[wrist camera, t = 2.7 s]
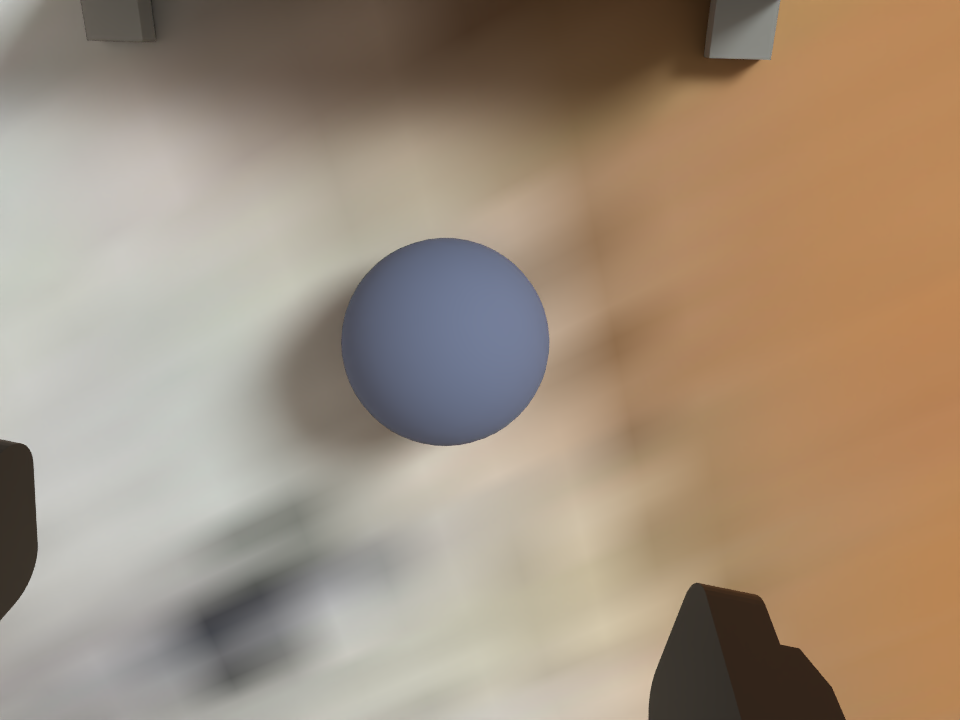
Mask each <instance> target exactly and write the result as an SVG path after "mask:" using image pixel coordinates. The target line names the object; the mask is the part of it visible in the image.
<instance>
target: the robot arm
mask: <svg viewBox="0 0 960 720" xmlns="http://www.w3.org/2000/svg"><path fill="white" fill-rule="evenodd" d="M37 551H38V542H37V523H36V504H35V486H34V467H33V457H32V454H31V452H30V450H29V448H28V447H27V446H26V445H24V444H21V443H16V442H11V441H6V440H1V439H0V620H1V619H2V618H3V617H4V615H5V614H6V613H7V612H8V611H9V610H10V609H11V607H12V606H13V605H14V604H15V603H16V602H17V600H18V599H19V598H20V596H21V595H22V593H23V592H24V590H25V588H26V586H27V585H28V582H29V580H30V578H31V575H32V573H33V570H34V567H35V563H36V558H37ZM649 720H846V719H845V717H844V715H843V712H842V710H841V708H840V705H839V703H838V701H837V698H836V696H835V694H834V691H833V689H832V687H831V686H830V685H829V683H828V682H827V681H826V680H825V679H824V677H823V676H822V675H821V674H820V673H819V671H818V670H817V669H816V668H815V667H814V666H813V664H812V663H811V662H810V661H809V660H808V658H807V657H806V656H805V655H804V654H803V652H802V651H801V650H800V649H799V648H794V647H789V646H784V645H780V643H779V640H778V638H777V635H776V632H775V630H774V627H773V624H772V622H771V619H770V616H769V614H768V611H767V608H766V606H765V604H764V602H763V600H762V599H761V598H760V597H759V596H758V595H755V594H750V593H745V592H740V591H735V590H730V589H725V588H720V587H715V586H710V585H705V584H700V583H694V584H693V585H692V586H691V587H690V588H689V590H688V591H687V593H686V596H685V598H684V600H683V603H682V605H681V608H680V611H679V613H678V616H677V618H676V621H675V623H674V626H673V628H672V631H671V633H670V636H669V638H668V641H667V644H666V646H665V649H664V651H663V654H662V656H661V659H660V661H659V664H658V666H657V669H656V672H655V674H654V678H653V681H652V686H651V691H650V699H649Z"/></svg>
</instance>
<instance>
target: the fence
mask: <svg viewBox="0 0 960 720" xmlns="http://www.w3.org/2000/svg"><path fill="white" fill-rule="evenodd" d="M81 5H82V11H83V18H84V24H85V30H86V36H87V40H93V41H129V42H150V41H156V36H155V29H154V21H153V14H152V6H151V0H81ZM779 5H780V0H711V3H710V11H709V19H708V27H707V34H706V42H705V50H704V57H707V58H727V59H763V60H771V55H772V48H773V42H774V36H775V30H776V23H777V17H778V11H779Z"/></svg>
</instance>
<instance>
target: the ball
mask: <svg viewBox="0 0 960 720" xmlns="http://www.w3.org/2000/svg"><path fill="white" fill-rule="evenodd" d="M341 345H342V357H343V361H344V366H345V370H346V374H347V376H348V379H349V382H350V384H351V386H352V388H353V390H354V392H355V394H356V396H357V397H358V399H359V400H360V402H361V403H362V404H363V406H364V407H365V408H366V409H367V410H368V411H369V413H370V414H371V415H372V416H373V417H374V418H375V419H376V420H378V421H379V422H380V423H381V424H382V425H384V426H385V427H387V428H388V429H390V430H391V431H393V432H395V433H397V434H398V435H400V436H402V437H405V438H407V439H410V440H412V441H416V442H420V443H423V444H430V445H438V446H452V445H461V444H466V443H471V442H474V441H477V440H480V439H483V438H486V437H488V436H490V435H492V434H494V433H496V432H498V431H499V430H501V429H503V428H504V427H506V426H507V425H508V424H509V423H511V422H512V421H513V420H514V419H515V418H516V417H518V416H519V415H520V413H521V412H522V411H523V410H524V409H525V408H526V407H527V406H528V404H529V403H530V401H531V400H532V398H533V397H534V395H535V393H536V391H537V389H538V387H539V385H540V383H541V381H542V379H543V376H544V373H545V370H546V365H547V359H548V353H549V331H548V324H547V319H546V315H545V311H544V308H543V306H542V303H541V301H540V298H539V296H538V294H537V293H536V291H535V289H534V287H533V286H532V284H531V283H530V282H529V280H528V279H527V278H526V276H525V275H524V274H523V273H522V272H521V271H520V270H519V269H518V268H517V267H516V266H515V265H514V264H513V263H512V262H511V261H510V260H508V259H507V258H506V257H504V256H503V255H501V254H499V253H498V252H496V251H494V250H493V249H491V248H488V247H486V246H484V245H481V244H478V243H475V242H471V241H468V240H462V239H455V238H437V239H428V240H424V241H420V242H416V243H413V244H410V245H407V246H405V247H402V248H400V249H398V250H396V251H394V252H393V253H391V254H389V255H388V256H386V257H385V258H384V259H382V260H381V261H380V262H378V263H377V264H376V265H375V266H374V267H373V268H372V269H371V270H370V271H369V272H368V273H367V274H366V275H365V277H364V278H363V279H362V281H361V282H360V283H359V285H358V286H357V288H356V290H355V292H354V294H353V296H352V298H351V300H350V302H349V305H348V307H347V310H346V313H345V317H344V322H343V328H342V341H341Z"/></svg>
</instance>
